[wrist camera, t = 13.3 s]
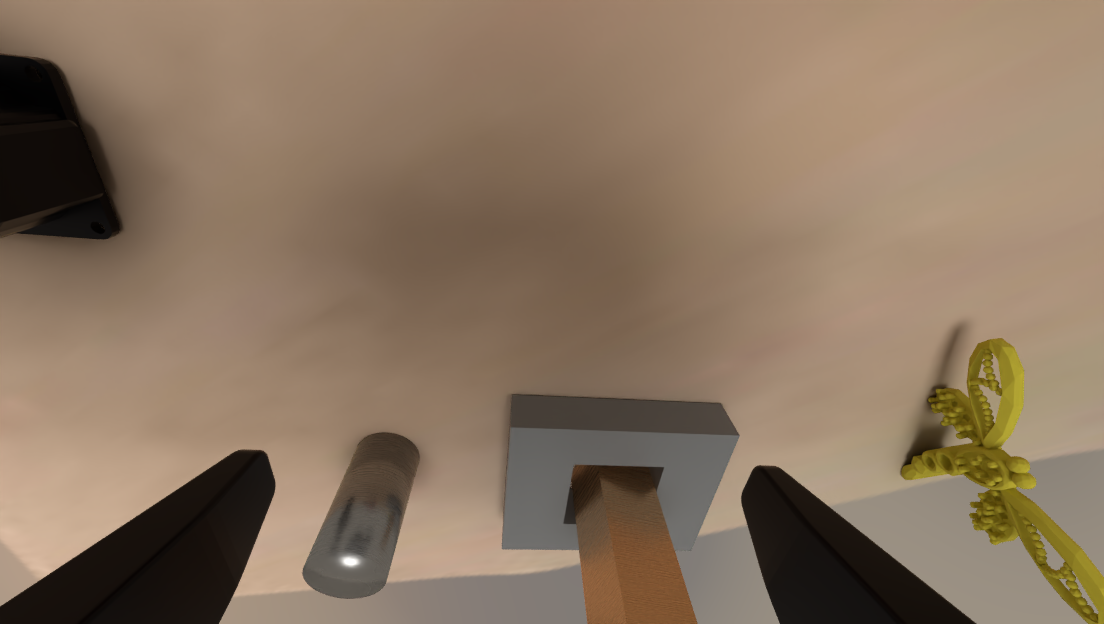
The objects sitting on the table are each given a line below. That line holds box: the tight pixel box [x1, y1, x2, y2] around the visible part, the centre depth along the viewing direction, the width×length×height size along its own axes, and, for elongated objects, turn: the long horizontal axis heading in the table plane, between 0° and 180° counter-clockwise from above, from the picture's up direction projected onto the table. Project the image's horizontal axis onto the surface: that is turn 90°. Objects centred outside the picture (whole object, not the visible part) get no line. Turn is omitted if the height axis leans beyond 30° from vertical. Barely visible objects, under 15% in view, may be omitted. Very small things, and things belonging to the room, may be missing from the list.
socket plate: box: [502, 395, 740, 551], centre depth 26 cm, size 12×10×2 cm
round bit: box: [303, 433, 419, 599], centre depth 22 cm, size 4×4×7 cm
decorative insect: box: [901, 338, 1104, 624], centre depth 24 cm, size 13×3×10 cm
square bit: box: [571, 465, 697, 624], centre depth 22 cm, size 3×3×12 cm
